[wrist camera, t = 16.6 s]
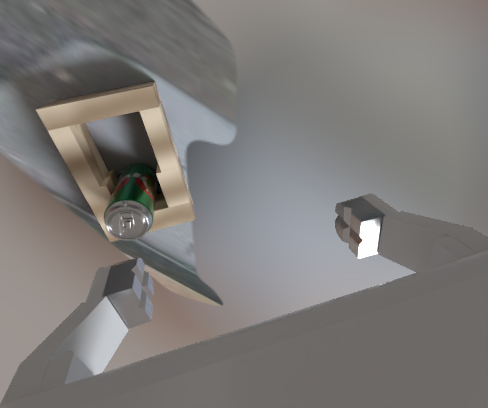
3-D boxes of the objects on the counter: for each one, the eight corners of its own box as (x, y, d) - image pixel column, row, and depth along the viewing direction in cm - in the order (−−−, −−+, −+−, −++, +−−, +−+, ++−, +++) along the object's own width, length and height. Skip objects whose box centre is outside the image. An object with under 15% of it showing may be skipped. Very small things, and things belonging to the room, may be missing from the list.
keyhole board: (54, 101, 31) (35, 109, 27) (155, 81, 33) (152, 86, 28) (116, 222, 41) (110, 242, 37) (192, 202, 42) (195, 219, 38)
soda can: (123, 194, 39) (105, 245, 29) (117, 162, 37) (97, 205, 26) (158, 193, 40) (154, 242, 30) (156, 162, 38) (150, 203, 28)
